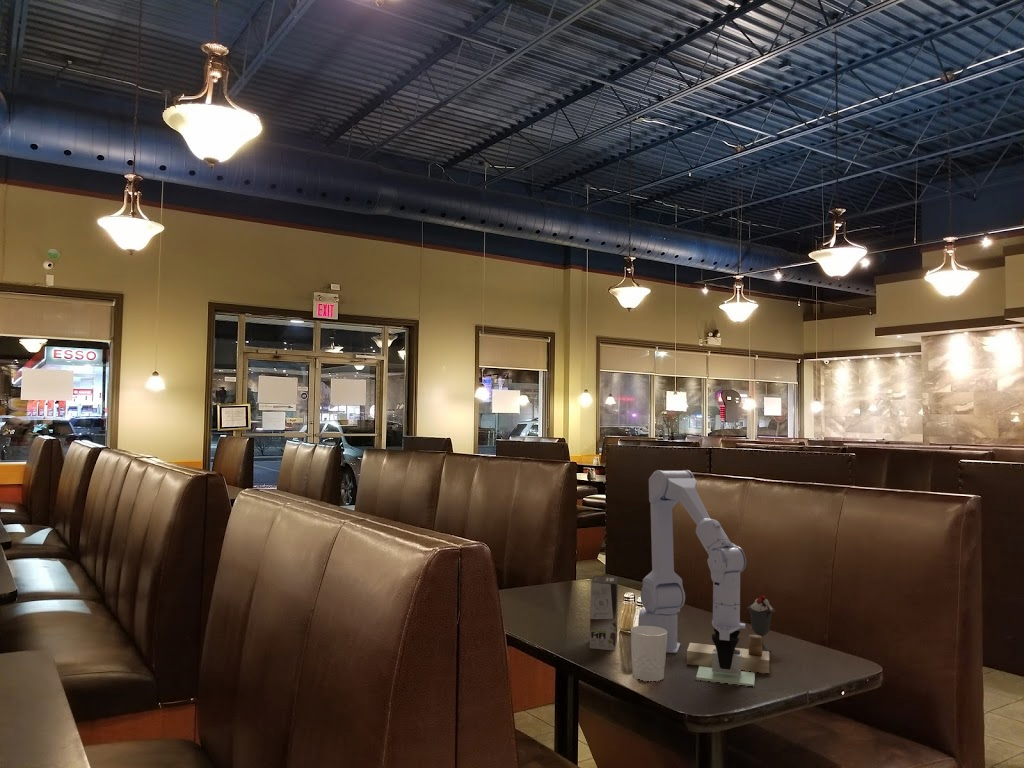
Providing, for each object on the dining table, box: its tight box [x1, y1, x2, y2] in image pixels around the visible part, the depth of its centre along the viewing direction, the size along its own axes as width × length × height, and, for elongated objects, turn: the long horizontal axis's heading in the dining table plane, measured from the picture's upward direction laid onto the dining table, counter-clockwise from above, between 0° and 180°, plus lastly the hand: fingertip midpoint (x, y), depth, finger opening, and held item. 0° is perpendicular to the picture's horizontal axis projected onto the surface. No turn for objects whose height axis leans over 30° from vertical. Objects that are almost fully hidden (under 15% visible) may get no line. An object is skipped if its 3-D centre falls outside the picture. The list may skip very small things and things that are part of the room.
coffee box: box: [589, 575, 619, 651], centre depth 189 cm, size 9×6×16 cm
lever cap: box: [711, 647, 742, 675], centre depth 166 cm, size 6×4×5 cm
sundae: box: [746, 589, 776, 653], centre depth 188 cm, size 7×7×15 cm
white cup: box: [630, 625, 667, 683], centre depth 166 cm, size 8×8×10 cm
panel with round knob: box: [686, 634, 770, 674], centre depth 176 cm, size 18×7×7 cm, turn 71°
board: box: [695, 665, 756, 688], centre depth 166 cm, size 12×8×1 cm, turn 71°
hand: (725, 665), depth 166 cm, fingers closed on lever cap, 4 cm apart
